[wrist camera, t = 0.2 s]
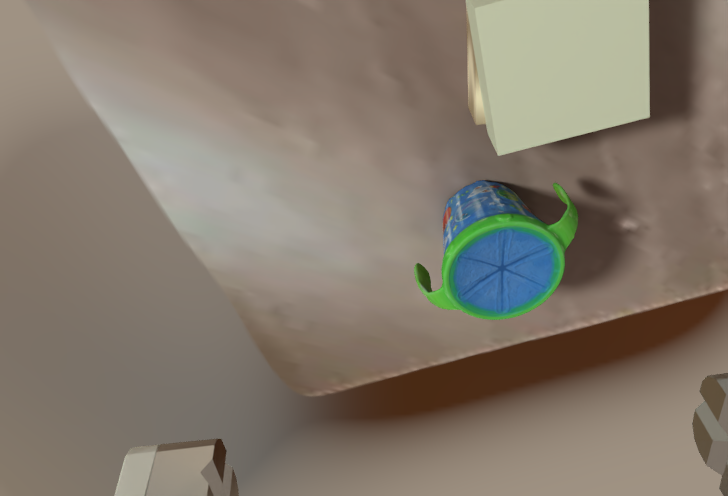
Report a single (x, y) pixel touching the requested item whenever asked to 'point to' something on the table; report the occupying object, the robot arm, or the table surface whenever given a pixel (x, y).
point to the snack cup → (498, 253)
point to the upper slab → (559, 67)
